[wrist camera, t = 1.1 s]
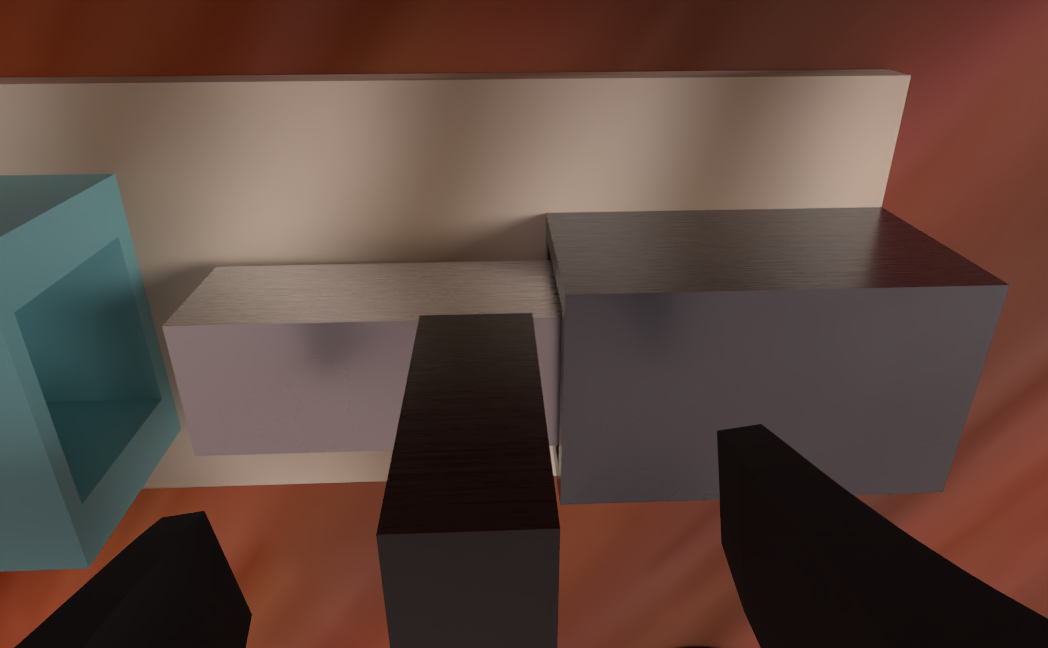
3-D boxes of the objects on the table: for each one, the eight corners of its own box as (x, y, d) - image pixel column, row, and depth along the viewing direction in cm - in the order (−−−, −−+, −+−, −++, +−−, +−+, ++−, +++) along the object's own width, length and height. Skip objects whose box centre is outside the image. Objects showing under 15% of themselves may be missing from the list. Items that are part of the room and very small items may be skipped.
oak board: (887, 69, 16) (911, 75, 15) (807, 444, 20) (822, 467, 19) (-57, 78, 15) (-93, 84, 14) (77, 466, 19) (57, 491, 18)
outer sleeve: (881, 207, 16) (1009, 284, 12) (843, 377, 18) (942, 492, 14) (545, 213, 16) (565, 294, 12) (544, 385, 18) (560, 504, 14)
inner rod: (869, 249, 16) (1217, 506, 8) (843, 369, 17) (1121, 684, 9) (215, 262, 15) (-51, 549, 8) (240, 384, 16) (35, 730, 9)
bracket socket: (114, 174, 15) (-27, 252, 11) (181, 428, 18) (88, 568, 14) (-58, 176, 15) (-270, 256, 11) (36, 433, 18) (-101, 574, 14)
